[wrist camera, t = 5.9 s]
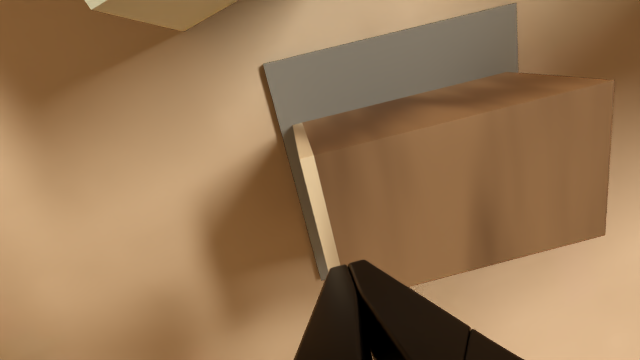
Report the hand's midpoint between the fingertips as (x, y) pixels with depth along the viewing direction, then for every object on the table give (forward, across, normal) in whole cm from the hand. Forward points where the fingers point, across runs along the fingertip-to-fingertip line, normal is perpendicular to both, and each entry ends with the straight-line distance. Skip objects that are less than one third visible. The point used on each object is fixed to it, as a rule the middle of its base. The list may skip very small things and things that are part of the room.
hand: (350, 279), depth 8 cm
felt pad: (+8, -4, 0) cm, 8 cm away
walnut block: (+5, 0, 0) cm, 5 cm away
